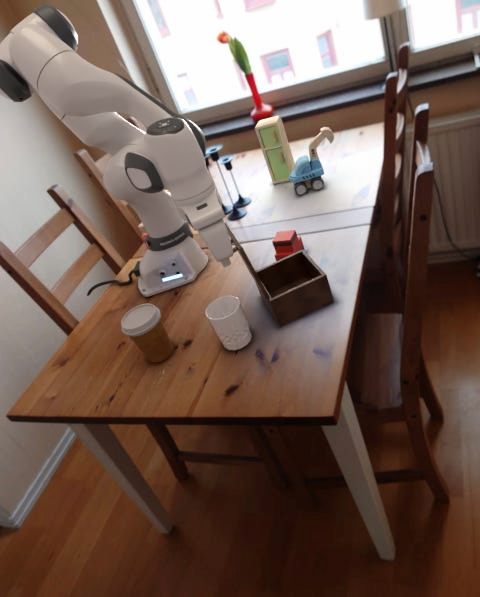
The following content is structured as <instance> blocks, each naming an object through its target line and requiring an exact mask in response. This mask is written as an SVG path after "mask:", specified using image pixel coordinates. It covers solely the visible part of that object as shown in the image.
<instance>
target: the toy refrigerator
mask: <svg viewBox="0 0 480 597" xmlns="http://www.w3.org/2000/svg"><path fill="white" fill-rule="evenodd" d="M254 131H255V133H256V137H257V140H258V142H259V146H260V149H261V151H262V154H263V157H264V160H265V163H266V166H267V169H268V170H267V171H268V173H269V175H270V178H271V181H272V184H273V185H276V184H282V183H286V182H290V180H289V175H290V173H291V172H292V171H294V170H295V163H296V162H295V160H294V156H293V152H292V150H291V146H290V144H289V140H288V136H287V133H286V130H285V126H284V123H283V120H282V115H280V114H279V115H275V116H271V117H267V118H264V119H260V120H258V121H257V124H256V125H255V127H254Z"/></svg>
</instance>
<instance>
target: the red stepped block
mask: <svg viewBox="0 0 480 597" xmlns="http://www.w3.org/2000/svg"><path fill="white" fill-rule="evenodd" d="M271 242H272V246H273V248H274V251H275V254H274V258H275V262H276V261H278V260H281V259H283V258H285V257H287V256H289V255H291V254H294V253H296V252H298V251H300V250H302V249H303V250H304V251H305V252H306V250H305V245H304V242H303V238H302V236H298V233H297V231H296V229H291V230H282V231H276V234H275V236H274V238H273V239H272V241H271Z"/></svg>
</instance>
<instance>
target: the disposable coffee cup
mask: <svg viewBox="0 0 480 597" xmlns="http://www.w3.org/2000/svg"><path fill="white" fill-rule="evenodd" d="M120 325H121V332H122V333H123V334H125V335H126V336H128V337H129V338H130V340H131V341H132V342H133V343H134V345H136V346H137V348H138V349H139V350H140V351H141V352H142V353H143V354H144V355H145V357H146V358H147V359H148V360H149V361H150V362H152V363H159V362H162V361H165V360H167V359H168V358H169V356H171V355H172V353H173V350H174V347H173V344H172V342H171V338H170V336H169V334H168V332H167V329H166V326H165V323H164V321H163V319H162V316H161V310H160V308H159V307H157V306H156V305H154V304H153V303H147V302H146V303H142V304H138V305H136V306H134V307H133V308H130V310H128V311H127V312H126V313H125V314H124V316H123V317H122V318H121V321H120Z"/></svg>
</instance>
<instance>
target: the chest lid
mask: <svg viewBox="0 0 480 597" xmlns="http://www.w3.org/2000/svg"><path fill="white" fill-rule="evenodd" d="M225 225H226V228H227V231H228V235H229V238H230V241H231V244H233V245H234V247H232V248H233V254H234V253H236V252H238V254H239V256H240V257H241V259H242V261H243V263H244V265H245V266H246V269H247V270H248V272H249V274H250V275H251V277H252V278H253V281H254V283H255V284H256V283H257V285H258V286H259V288H260V290H261V291H262V293H263V295H264V296H265V298H266V299H267V300H269V299H270V297H269V295H268V293H267V291H266V290H265V288H264V286H263V284H262V282H261V280H260V279H259V277H258V275H257V273H256V271H257V270H255V267H254V266H253V264H252V262H251V260H250V258H249V257H248V255H247V253H246V252H245V249H244V247H243V246H242V245H241V243H240V241H239V240H238V238H237V236H236V235H235V233H234V232H233V231H232V229H231V227H230V226H229V224H228V223H227V222H225ZM257 285H256V286H257Z"/></svg>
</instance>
